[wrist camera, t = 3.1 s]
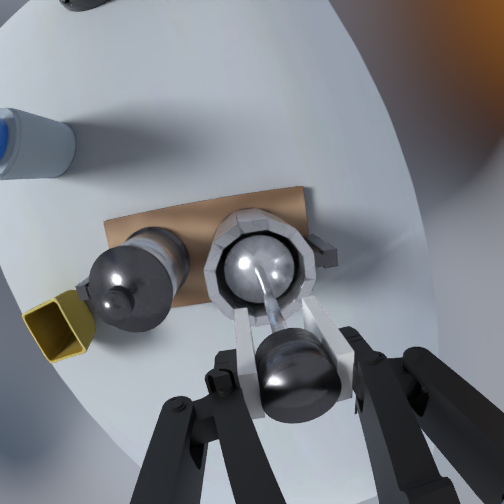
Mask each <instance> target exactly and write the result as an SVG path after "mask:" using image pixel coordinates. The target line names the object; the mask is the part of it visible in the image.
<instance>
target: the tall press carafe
mask: <svg viewBox="0 0 504 504" xmlns="http://www.w3.org/2000/svg"><path fill="white" fill-rule="evenodd" d="M258 234H260V235H268V236H271V237H274V238H276V239H277V240H279V241H280V242H281V243H283V244H284V245H285V247H286V248H287V249H288V250H289V252H290V254H291V256H292V259H293V263H294V274H293V278H292V281H291V283H290V285H289V287H288V288H287V289H286V290H285V292H284V293H282V294H281V295H280V296H279V297H277V298H276V300H277V303H278V305H279V308H280V310H281V313H282V316H283V318H284V320H286V319H287V318H288V317H290V316H291V315H292V314H294V313H295V312H296V311H298V310H299V309H300V308H302V307H303V305H302V298H303V297H308V296H309V295H310V293H311V290H312V288H313V286H314V284H315V282H316V280H315V279H316V271H315V267H321V266H323V267H324V268H329V267H335V266H338V260H337V249H336V248H335V247H333V246H332V245H330V244H328V243H327V242H325V241H324V240H322V239H320V238H319V237H317V236H315V235H314V234H307V235H302V236H301V234H300V233H299V232H298V230H297V229H295V228H294V227H292V226H291V225H289V224H288V223H286V222H285V221H284V220H282V219H281V218H279V217H278V216H276V215H274V214H272V213H271V212H269V211H267V210H264V209H261V208H252V207H250V208H243V209H239V210H236V211H234V212H232V213H231V214H229V215H228V216H226V217H225V218H224V219H223V220H222V221H221V223H220V224H219V225H218V227H217V229H216V231H215V234H214V237H213V241H212V244H211V248H210V251H209V254H208V257H207V261H206V264H205V267H204V275H205V280H206V285H207V290H208V295H209V297H210V299H211V301H212V302H213V303H214V304H215V305H216V306H217V307H218V308H219V309H220V310H221V311H222V312H223V313H224V314H225V316H226V317H227V318H228V317H229V319H232V320H235V309H240V308H246V307H247V310H248V316H249V321H250V326H255V327H257V326H262V325H268V324H270V322H269V319H268V315H267V312H266V308H265V305H264V302H263V303H254V302H249V301H246V300H243V299H241V298H240V297H238V296H237V295H235V294H234V293H233V292H232V290H231V289H230V288H229V286H228V284H227V282H226V279H225V273H224V267H225V260H226V257H227V255H228V253H229V251H230V249H231V248H232V247H233V246H234V245H235V244H236V243H237V242H238V241H240V240H241V239H243V238H245V237H248V236H251V235H258Z"/></svg>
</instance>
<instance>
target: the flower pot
mask: <svg viewBox="0 0 504 504" xmlns="http://www.w3.org/2000/svg"><path fill="white" fill-rule="evenodd" d="M22 317H23V320H24V322H25V324H26V325H27V327H28V329H29V330H30V332H31V334H32V336H33V337H34V339H35V341H36V342H37V344H38V345H39V347H40V349H41V351H42V352H43V354H44V355H45V357H46V359H47V360H48V361H49V362H50V363H55V362H58V361H61V360H63V359H66V358H69V357H73V356H76V355H80V354H83V353H85V352H86V351H87V349H88V347H89V345H90V343H91V341H92V339H93V337H94V334H95V322H94V318H93V316H92V314H91V312H90V310H89V309H88V307H87V305H86V303H85V301H84V300H83V301H80V300H79V297H78V294H77V291H76V290H69V291H66V292H64V293H62V294H60V295H58V296H56V297H54V298H52V299H50V300H48V301H46V302H44V303H42V304H40V305H38V306H36V307H34V308H32V309H31V310H29V311H27V312H25V313H23V314H22Z"/></svg>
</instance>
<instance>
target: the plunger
mask: <svg viewBox="0 0 504 504" xmlns="http://www.w3.org/2000/svg"><path fill="white" fill-rule="evenodd" d="M224 273H225V279H226V282H227V284H228V286H229V288H230V289H231V290H232V292H233V293H234V294H235V295H237V296H238V297H240V298H241V299H243V300H246V301H249V302H254V303H263V302H264V305H265V308H266V312H267V315H268V319H269V322H270V325H271V329H272V332H273V334H271V335H269V336H268V337H267V338H266V339H264V341H263V342H262V343H261V344H260V345H259V347H258V349H257V351H256V355H255V361H256V368H257V374H258V381H259V387H260V399H261V405H262V408H263V410H264V412H265V413H266V414H267V415H268V416H269V417H271V418H272V419H274V420H276V421H279V422H283V423H302V422H307V421H310V420H313V419H315V418H317V417H319V416H321V415H323V414H324V413H326V412H327V411H328V410H329V409H331V408H332V407H333V405H334V404H335V403H336V402H337V400H338V398H339V396H340V394H341V389H342V383H341V379H340V377H339V375H338V373H337V371H336V370H335V368H334V366H333V364H332V362H331V360H330V359H329V357H328V355H327V353H326V351H325V350H324V348H323V346H322V344H321V342H320V341H319V339H318V338H317V337H316V336H315V335H314V334H313V333H311V332H309V331H307V330H305V329H301V328H287V326H286V323H285V321H284V318H283V316H282V313H281V310H280V308H279V305H278V303H277V300H276V298H277V297H279V296H280V295H281V294H282V293H284V292H285V290H286V289H287V288H288V287H289V285H290V283H291V281H292V278H293V274H294V263H293V259H292V256H291V254H290V252H289V250H288V249H287V248H286V247H285V245H284V244H283V243H281V242H280V241H279V240H277V239H276V238H274V237H271V236H268V235H260V234H258V235H251V236H248V237H245V238H243V239H241V240H240V241H238V242H237V243H236V244H235V245H234V246H233V247H232V248H231V249H230V251H229V253H228V255H227V257H226V260H225V267H224Z"/></svg>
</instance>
